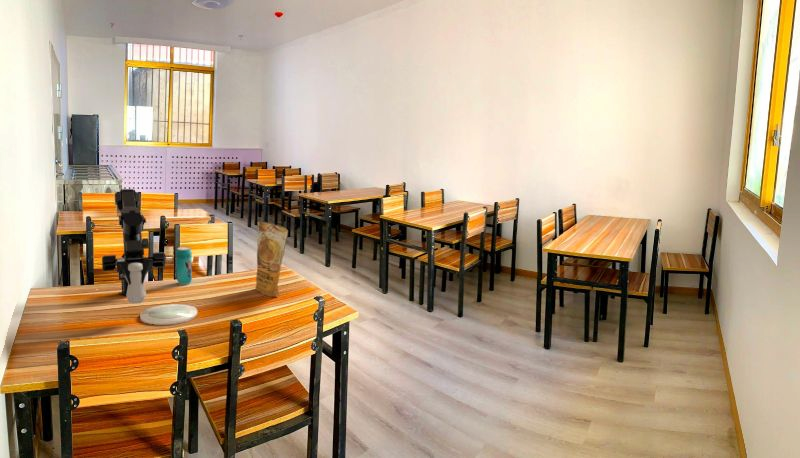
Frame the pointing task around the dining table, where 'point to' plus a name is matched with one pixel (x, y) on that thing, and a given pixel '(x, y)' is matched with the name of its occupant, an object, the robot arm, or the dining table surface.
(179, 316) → the dish
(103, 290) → the dining table surface
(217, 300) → the dining table surface
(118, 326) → the dining table surface
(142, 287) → the salt shaker
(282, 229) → the pancake mix bag
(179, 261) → the beverage can
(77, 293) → the dining table surface
